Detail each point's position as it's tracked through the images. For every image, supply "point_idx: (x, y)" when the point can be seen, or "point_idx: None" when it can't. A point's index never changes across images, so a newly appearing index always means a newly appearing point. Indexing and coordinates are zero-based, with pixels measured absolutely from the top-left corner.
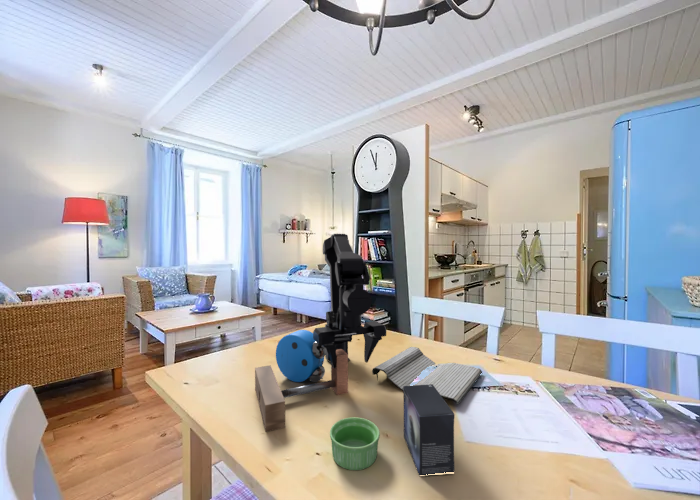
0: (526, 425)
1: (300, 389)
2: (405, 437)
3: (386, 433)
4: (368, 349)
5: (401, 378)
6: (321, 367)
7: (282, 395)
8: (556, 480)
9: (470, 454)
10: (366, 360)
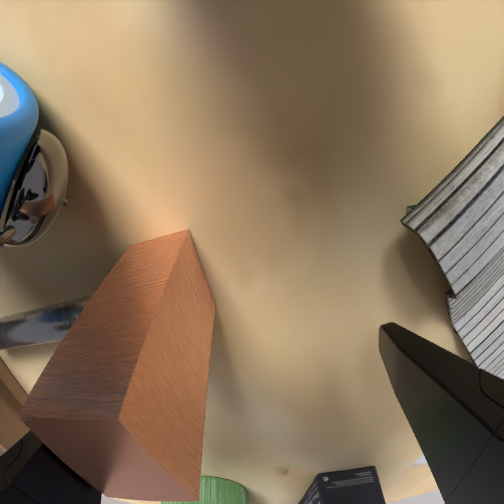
0: None
1: (7, 347)
2: (312, 492)
3: (286, 469)
4: (432, 452)
5: (494, 265)
6: (21, 222)
7: (3, 447)
8: (435, 484)
9: (393, 481)
10: (385, 364)
